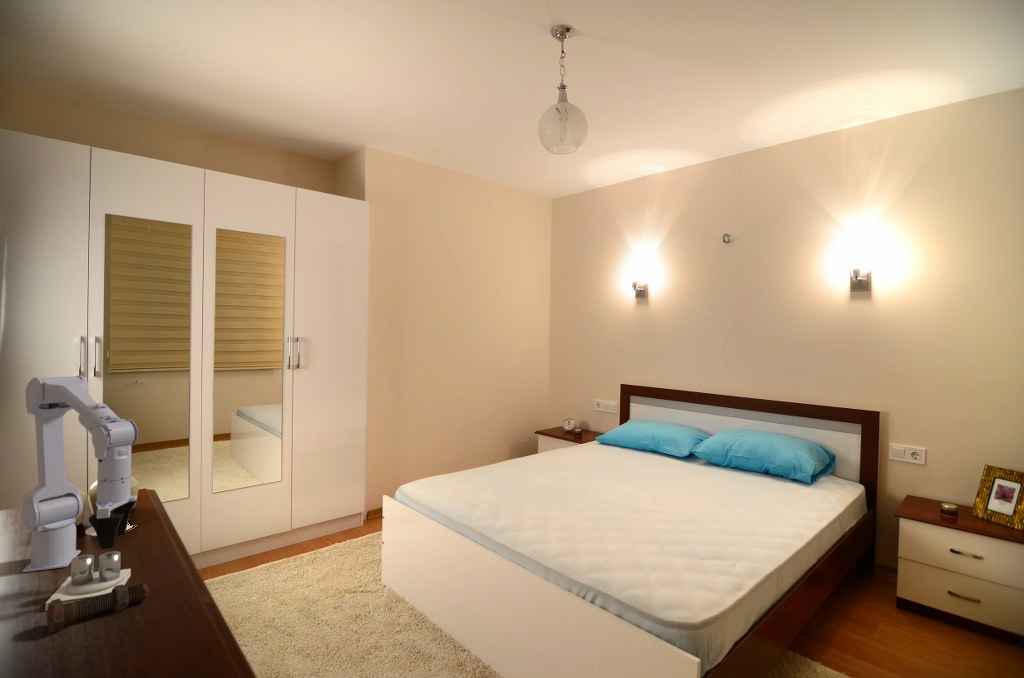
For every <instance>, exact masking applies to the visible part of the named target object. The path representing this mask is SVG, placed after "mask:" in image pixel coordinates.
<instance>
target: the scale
mask: <svg viewBox="0 0 1024 678" xmlns="http://www.w3.org/2000/svg"><path fill="white" fill-rule="evenodd" d="M131 569H132V568H124V569H120V577H119V578H118V579H116V580H113V581H109V582H100V581H99V570H98V571H93V581H92V582H90V583H88V584H85V585H80V586H72V585H71V576H68V577H67V578H66V580H64V582H63V583H62V584H61V585H60V586H59V587H58V588H57V590H55V592H54V593H53V594H52V595H51V596H50V598H49V599H48V600H47V601H46V602H45V609H44V610H45V612H47V609H48V605H49V603H50V602H51V601H52V600H56V599H60V600H61V601H62V602H63V604H66V603H70V602H77V601H79V600H84V599H88V598H91V597H95V596H99V595H101V594H102V595H103V594H106V593H110V592H112V589H113V588H114V587H115V586H118V585H121V584H122V585H125V586H126V583H127V582H128V580H129V579H130V577H131V572H132V571H131Z"/></svg>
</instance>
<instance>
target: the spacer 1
mask: <svg viewBox="0 0 1024 678" xmlns="http://www.w3.org/2000/svg"><path fill="white" fill-rule="evenodd" d="M94 557H95V556H94V554H82V555H77V556H76V557H75V558H73V559H72V560H71V563H70V567H71V568H70V577H71V585H72V586H80V585H85V584H88V583H90V582H92V581H93V572H94V568H95V567H94V564H95V562H94V560H95V558H94Z"/></svg>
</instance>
